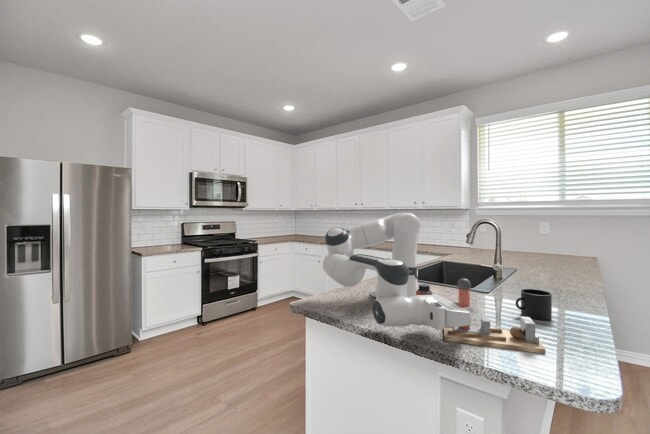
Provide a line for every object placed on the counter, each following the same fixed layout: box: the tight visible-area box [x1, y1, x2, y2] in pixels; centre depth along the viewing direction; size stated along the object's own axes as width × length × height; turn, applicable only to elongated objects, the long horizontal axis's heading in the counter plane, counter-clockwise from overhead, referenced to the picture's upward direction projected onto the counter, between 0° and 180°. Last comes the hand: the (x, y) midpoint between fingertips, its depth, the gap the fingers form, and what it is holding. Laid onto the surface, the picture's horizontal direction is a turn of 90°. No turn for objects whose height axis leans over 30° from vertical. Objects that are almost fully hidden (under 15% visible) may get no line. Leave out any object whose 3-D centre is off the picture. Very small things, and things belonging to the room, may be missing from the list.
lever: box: [454, 277, 491, 335], centre depth 96 cm, size 10×5×17 cm, turn 69°
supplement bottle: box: [416, 283, 433, 295], centre depth 117 cm, size 6×6×11 cm
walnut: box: [509, 325, 523, 339], centre depth 92 cm, size 3×3×3 cm
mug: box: [515, 288, 553, 321], centre depth 114 cm, size 9×12×9 cm
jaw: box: [520, 315, 540, 345], centre depth 91 cm, size 3×6×6 cm, turn 159°
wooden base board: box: [443, 325, 546, 355], centre depth 94 cm, size 26×12×2 cm, turn 69°
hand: (466, 307), depth 97 cm, fingers closed on lever, 3 cm apart
